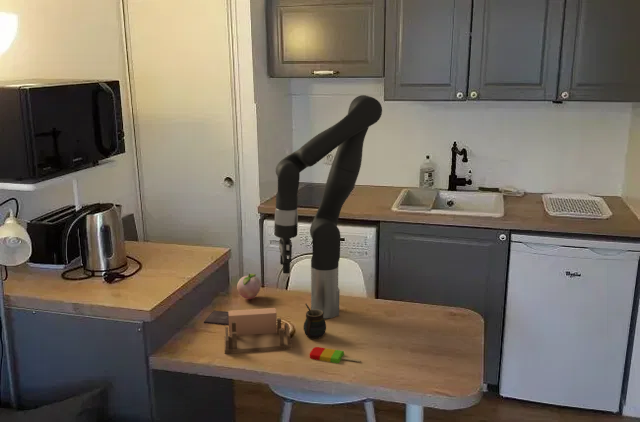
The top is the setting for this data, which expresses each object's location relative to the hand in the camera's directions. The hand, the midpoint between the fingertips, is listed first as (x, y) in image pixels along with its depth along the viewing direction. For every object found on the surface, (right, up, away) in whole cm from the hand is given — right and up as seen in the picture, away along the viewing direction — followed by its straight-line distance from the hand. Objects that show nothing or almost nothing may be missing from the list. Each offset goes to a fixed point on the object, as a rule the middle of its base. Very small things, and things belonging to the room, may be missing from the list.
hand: (284, 268), depth 197 cm
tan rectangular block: (-10, -20, -7) cm, 23 cm away
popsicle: (+16, -25, -23) cm, 37 cm away
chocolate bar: (-17, -18, +2) cm, 25 cm away
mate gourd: (+10, -21, -9) cm, 25 cm away
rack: (-7, -22, -15) cm, 28 cm away
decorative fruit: (-14, -13, +18) cm, 26 cm away
